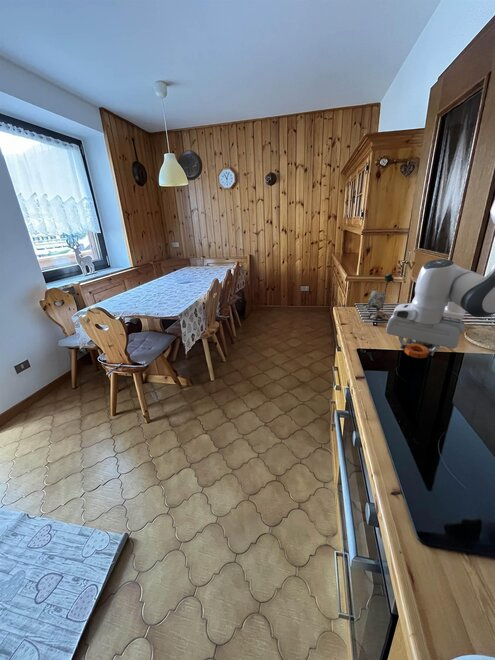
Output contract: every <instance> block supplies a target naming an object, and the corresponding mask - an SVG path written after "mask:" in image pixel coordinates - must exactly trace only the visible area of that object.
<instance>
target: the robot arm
mask: <svg viewBox="0 0 495 660" xmlns="http://www.w3.org/2000/svg"><path fill="white" fill-rule="evenodd" d="M490 218H491V221H492V222H493V224H494V225H495V200H494V201H493V202H492V205H491V207H490ZM448 302H454V303H455V304H457V305H459V306H460V307H462V308H463V309H464V310H465V313H466V312H467V314H468V315H470V316H471V317H475V318H486V317H490V316H493V315H495V262H494V263H493V265H492V267H491V269H490V270H489V272H488V273H487V275H486V276H484V275H481V274H479V273H478V272H476V271H473V270H470V269H466V268H463V267H461V266H459V265H458V264H456V263H455V262H454V261H453V260H451V259H446V258H445V259H441V258H439V259H433V260H429V261H427V262H425V263H424V264H423V265H422V266H421V268H420V271H419V273H418V275H417V279H416V282H415V287H414V297H413V298H412V301H411V302H410V303H399V304H398V305H396V307H395V308H393V309H394V310H393V313H392V315H391V316H390V317H391V318H390V319H389V320H388V321H387V323H386V329H385V332H386V334H387V335H391V336H395V337H398V338H397V339H398V342H399V344H400V347H399V348H400V349H402V350H404V349H405V347H406V345H407V342H405V340H404V339H407V340H408V339H412V340H416V341H421V342H425V343H430V344H434V345H435V347H434V348H433V349H429V352H428V356H429V355H430V357H433V356H434V354H435V352H437V351H438V350H440V347H444V348H448V349H452V350H453V349H455V348H458V346H459V342H460V337H461V334H462V333H464V331H465V329H466V323H465V322H464V321H461V320H460V319H456V318H455V319H454V318H450V317H445V316H443V314H444V310H445V307H446V305H447V303H448ZM460 322H461V323H460Z"/></svg>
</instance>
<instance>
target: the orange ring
mask: <svg viewBox="0 0 495 660" xmlns="http://www.w3.org/2000/svg"><path fill="white" fill-rule="evenodd" d="M414 350H419V351H420V352H418V351H414ZM403 352H404V354H406V355H407V356H410V357H412V358H415V359H425V358H428V356H429V355H428V352H429V349H428V348H427V347H425V346H422V345H420V344H416V343H415V344H414V343H411V344H407V345H406V347H405V349H403Z"/></svg>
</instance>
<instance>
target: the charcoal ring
mask: <svg viewBox="0 0 495 660" xmlns="http://www.w3.org/2000/svg"><path fill="white" fill-rule="evenodd" d="M410 343H414V344H415V343H416V344H419V343H417V342H414V341H413V340H412V339H411V341H410ZM420 345H422V346H425V347H427V348H431V347H432V344H428V345H425V344H424V345H423V344H420Z"/></svg>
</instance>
